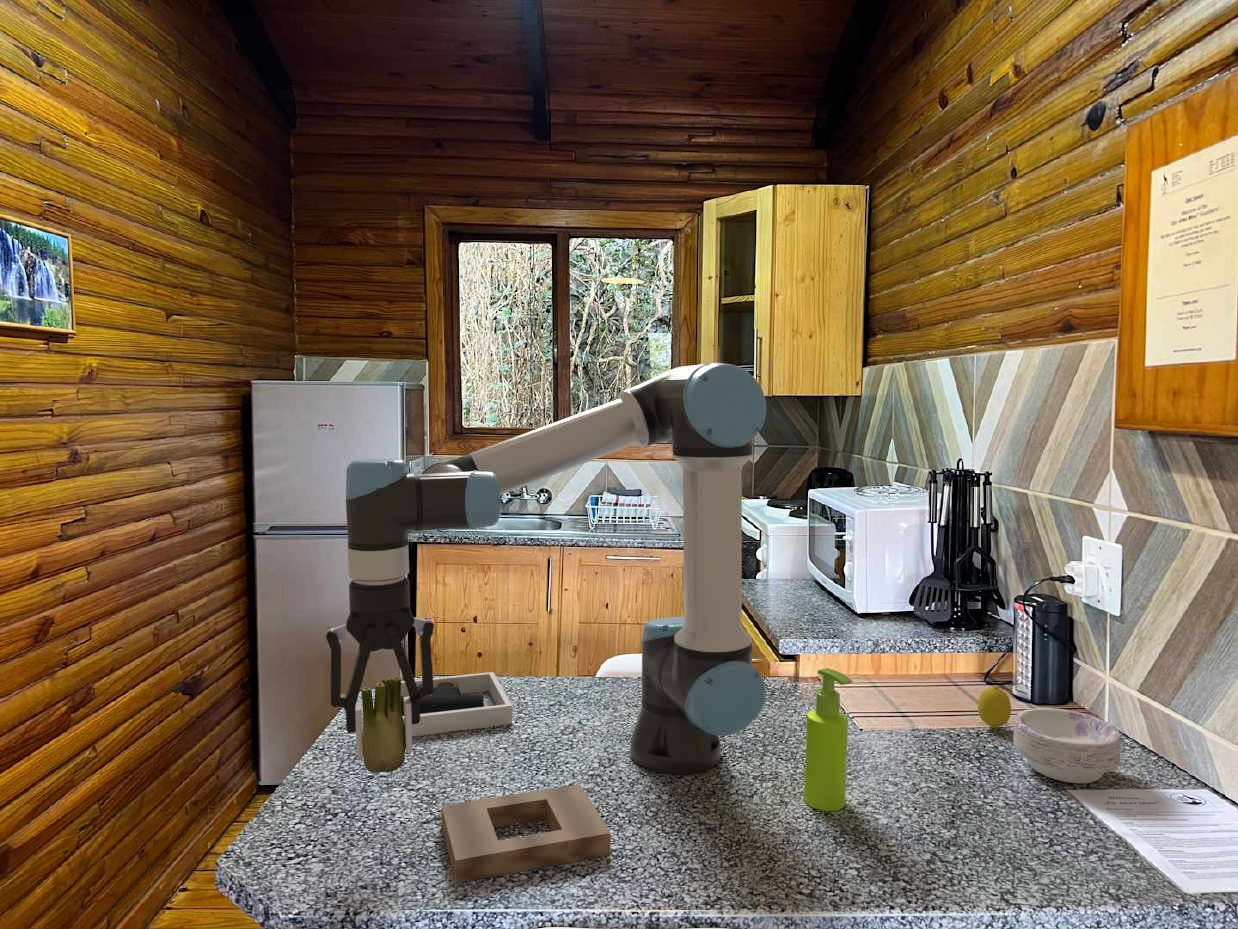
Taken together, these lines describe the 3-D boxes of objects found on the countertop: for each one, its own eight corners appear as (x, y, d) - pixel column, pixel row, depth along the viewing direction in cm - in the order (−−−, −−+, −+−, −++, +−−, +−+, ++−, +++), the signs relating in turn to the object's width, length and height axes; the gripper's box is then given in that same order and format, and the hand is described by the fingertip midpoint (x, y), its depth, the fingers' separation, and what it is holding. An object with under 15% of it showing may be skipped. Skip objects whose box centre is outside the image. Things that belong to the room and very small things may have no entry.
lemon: (1009, 726, 149) (1011, 684, 148) (1010, 737, 144) (1012, 693, 143) (976, 720, 151) (979, 679, 150) (976, 731, 146) (978, 688, 145)
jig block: (579, 804, 118) (579, 784, 118) (610, 855, 105) (610, 833, 105) (441, 826, 111) (441, 805, 111) (455, 883, 98) (455, 860, 98)
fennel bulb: (364, 780, 103) (361, 689, 102) (360, 764, 107) (357, 677, 106) (410, 772, 105) (407, 683, 104) (404, 756, 110) (402, 671, 109)
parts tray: (493, 688, 164) (493, 672, 164) (512, 724, 146) (512, 705, 146) (386, 700, 157) (386, 682, 157) (393, 739, 140) (392, 719, 139)
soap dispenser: (827, 818, 115) (832, 682, 113) (796, 796, 121) (800, 667, 119) (858, 809, 118) (863, 676, 116) (825, 788, 124) (830, 661, 122)
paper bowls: (991, 759, 135) (993, 713, 134) (1054, 745, 141) (1057, 701, 140) (1074, 801, 121) (1077, 750, 120) (1140, 783, 127) (1144, 735, 126)
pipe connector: (408, 678, 155) (486, 677, 157) (408, 704, 156) (486, 703, 157) (396, 701, 144) (481, 700, 145) (397, 730, 145) (481, 728, 146)
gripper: (447, 567, 111) (451, 730, 113) (303, 577, 104) (310, 749, 106) (455, 578, 104) (459, 752, 106) (301, 590, 97) (308, 774, 99)
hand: (384, 750), depth 106 cm, fingers closed on fennel bulb, 5 cm apart
